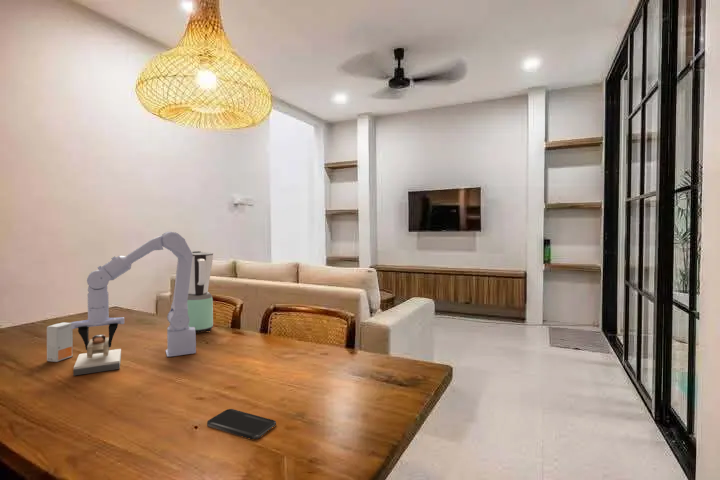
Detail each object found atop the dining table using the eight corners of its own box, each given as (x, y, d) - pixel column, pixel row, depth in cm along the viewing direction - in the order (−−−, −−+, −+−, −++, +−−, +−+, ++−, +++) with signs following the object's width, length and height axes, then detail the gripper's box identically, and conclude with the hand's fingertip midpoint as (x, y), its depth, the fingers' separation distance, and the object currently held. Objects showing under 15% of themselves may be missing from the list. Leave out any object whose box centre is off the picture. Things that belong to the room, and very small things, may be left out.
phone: (255, 437, 84) (204, 422, 90) (255, 442, 84) (205, 426, 91) (278, 421, 91) (229, 407, 98) (278, 425, 91) (229, 412, 98)
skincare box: (56, 362, 130) (56, 327, 130) (46, 361, 131) (45, 326, 131) (73, 356, 136) (73, 322, 136) (63, 355, 137) (62, 321, 137)
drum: (105, 339, 131) (105, 333, 131) (105, 342, 128) (105, 336, 127) (92, 341, 129) (92, 335, 129) (91, 344, 126) (91, 337, 126)
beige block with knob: (109, 347, 134) (109, 337, 134) (107, 355, 125) (107, 345, 125) (90, 349, 131) (90, 339, 131) (87, 358, 123) (86, 347, 123)
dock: (121, 355, 138) (120, 348, 138) (119, 369, 125) (119, 361, 125) (79, 361, 132) (79, 353, 132) (73, 376, 119) (73, 368, 119)
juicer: (176, 329, 173) (175, 250, 172) (207, 324, 181) (207, 250, 180) (186, 339, 158) (186, 253, 157) (220, 334, 166) (220, 252, 165)
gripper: (69, 311, 121) (69, 354, 121) (123, 307, 128) (124, 347, 128) (72, 307, 127) (73, 348, 127) (124, 303, 134) (124, 342, 135)
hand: (98, 347), depth 128 cm, fingers closed on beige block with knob, 5 cm apart
